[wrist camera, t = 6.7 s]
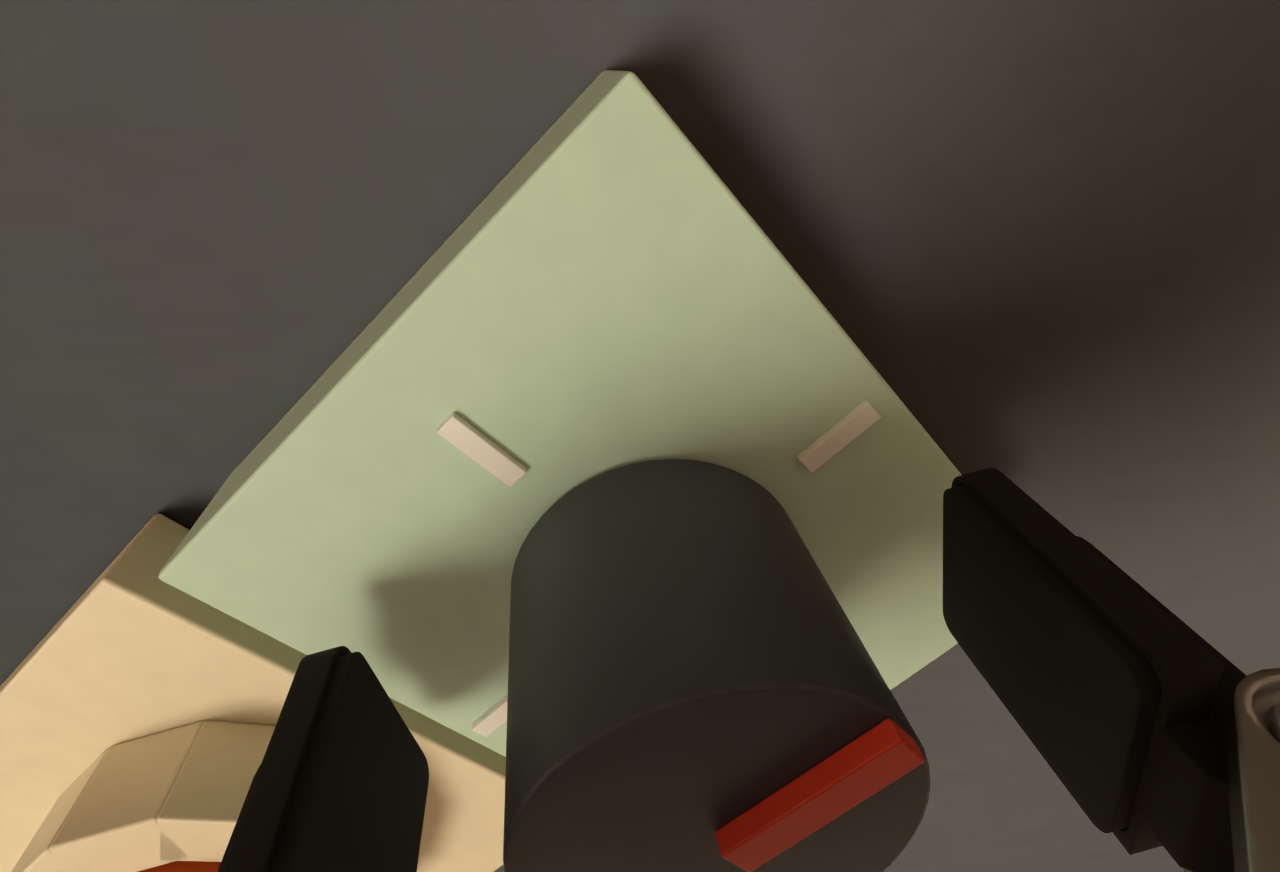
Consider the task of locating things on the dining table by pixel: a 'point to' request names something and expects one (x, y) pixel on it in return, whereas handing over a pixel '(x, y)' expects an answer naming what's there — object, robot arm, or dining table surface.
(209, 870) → the button
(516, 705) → the program dial
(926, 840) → the dining table surface
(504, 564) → the panel
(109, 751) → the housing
